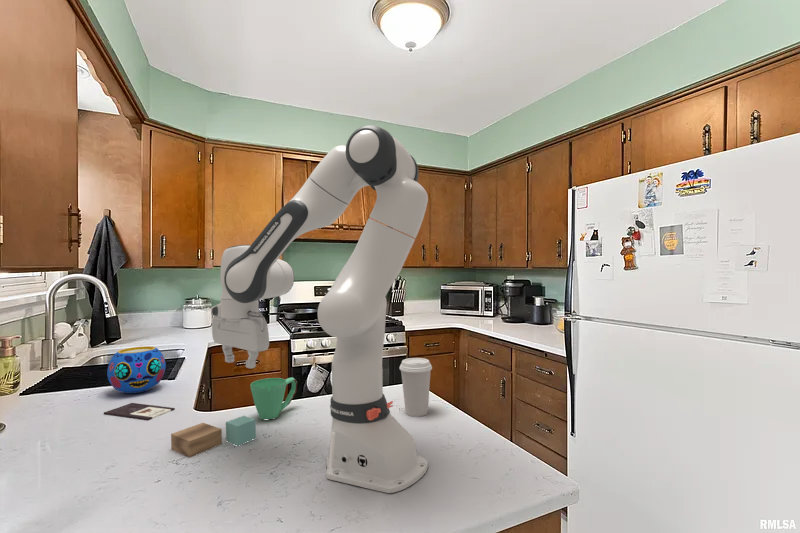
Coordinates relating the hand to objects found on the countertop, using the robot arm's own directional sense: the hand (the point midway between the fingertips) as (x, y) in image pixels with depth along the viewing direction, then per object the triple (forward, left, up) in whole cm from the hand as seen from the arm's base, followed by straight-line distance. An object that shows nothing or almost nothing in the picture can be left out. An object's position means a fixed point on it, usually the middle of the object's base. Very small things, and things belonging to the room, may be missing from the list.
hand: (239, 364), depth 101 cm
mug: (+7, -16, -19) cm, 25 cm away
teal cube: (0, 0, -19) cm, 19 cm away
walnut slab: (+6, +8, -19) cm, 22 cm away
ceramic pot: (+69, -4, -19) cm, 71 cm away
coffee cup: (-27, -39, -19) cm, 51 cm away
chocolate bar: (+45, +5, -19) cm, 49 cm away
